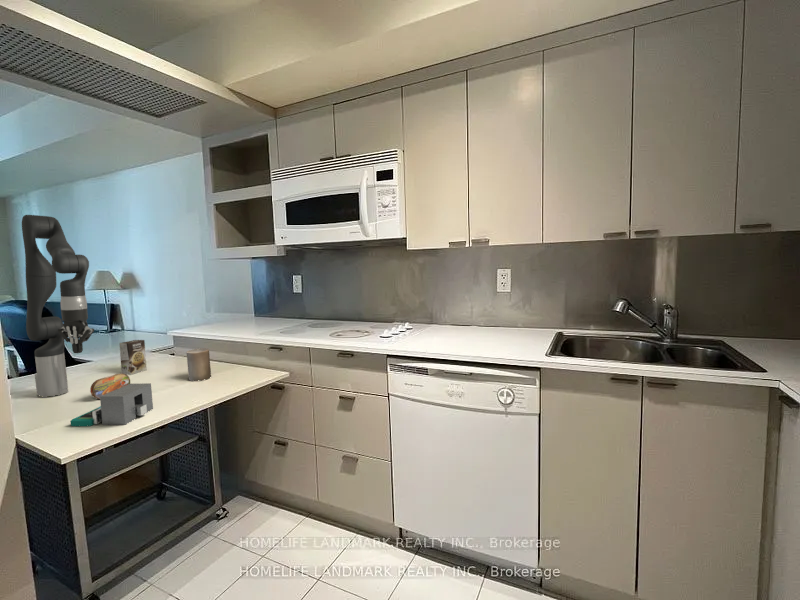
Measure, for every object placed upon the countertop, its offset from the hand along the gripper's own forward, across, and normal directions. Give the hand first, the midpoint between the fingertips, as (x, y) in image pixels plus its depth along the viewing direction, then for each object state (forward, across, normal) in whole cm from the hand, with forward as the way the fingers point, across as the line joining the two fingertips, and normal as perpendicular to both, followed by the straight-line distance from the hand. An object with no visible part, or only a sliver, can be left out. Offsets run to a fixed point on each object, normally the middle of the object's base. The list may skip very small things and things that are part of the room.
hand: (77, 352), depth 146 cm
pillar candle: (+21, -25, -37) cm, 50 cm away
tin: (+22, -1, -14) cm, 26 cm away
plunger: (+20, -25, +6) cm, 33 cm away
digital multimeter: (+22, -15, +10) cm, 28 cm away
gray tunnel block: (+20, -26, +9) cm, 34 cm away
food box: (+23, +16, -48) cm, 56 cm away
